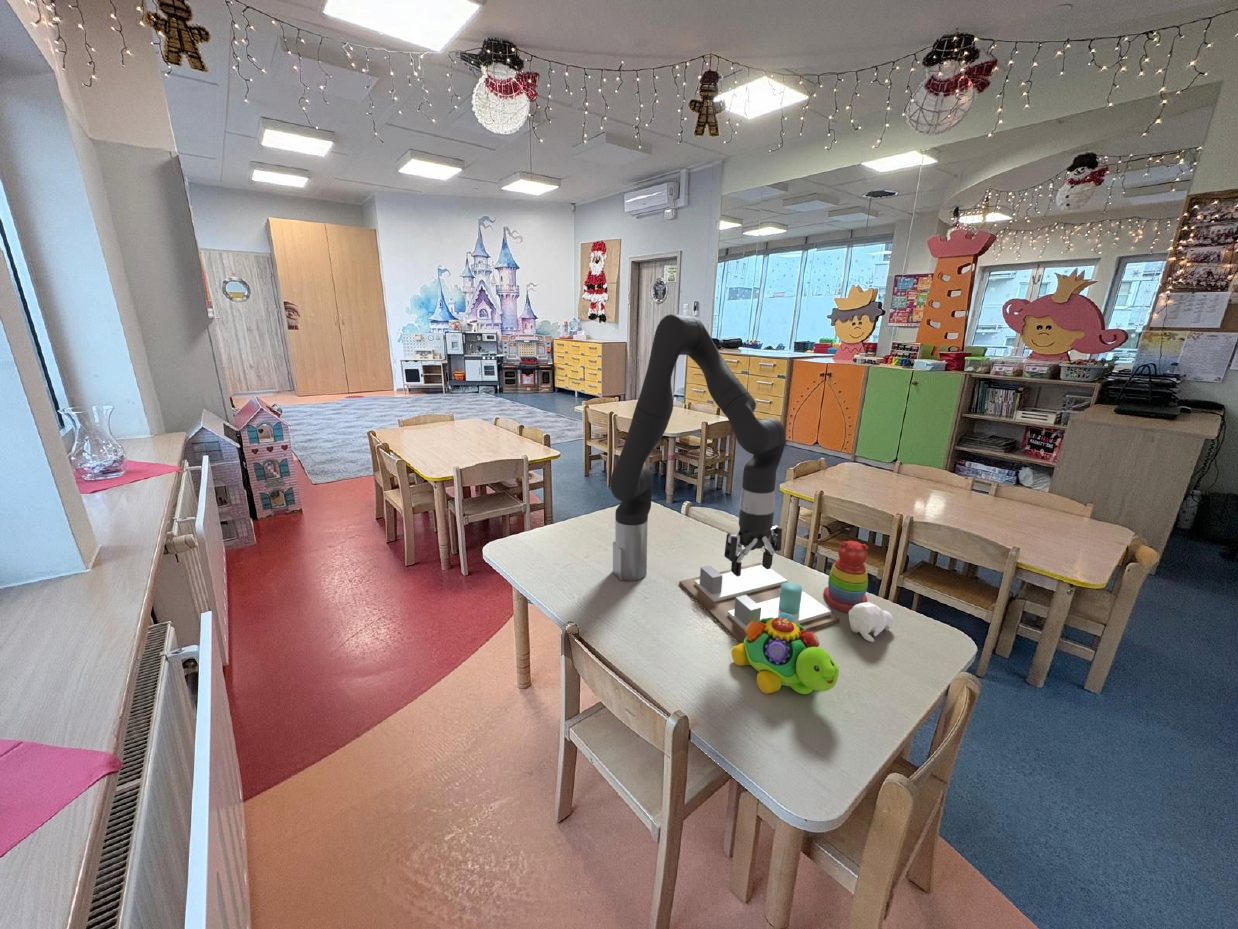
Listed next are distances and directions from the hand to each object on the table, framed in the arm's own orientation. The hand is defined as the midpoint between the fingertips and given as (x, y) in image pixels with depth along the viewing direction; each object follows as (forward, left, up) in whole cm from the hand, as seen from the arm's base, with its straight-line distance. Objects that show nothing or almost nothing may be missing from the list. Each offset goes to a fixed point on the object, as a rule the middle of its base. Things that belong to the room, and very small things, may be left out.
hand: (751, 571), depth 118 cm
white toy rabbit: (+27, -13, -16) cm, 34 cm away
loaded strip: (+10, 0, -14) cm, 17 cm away
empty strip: (+10, +16, -14) cm, 24 cm away
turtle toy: (-2, -17, -16) cm, 23 cm away
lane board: (+9, +9, -16) cm, 20 cm away
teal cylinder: (+13, 0, -13) cm, 19 cm away
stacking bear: (+31, -1, -16) cm, 35 cm away
